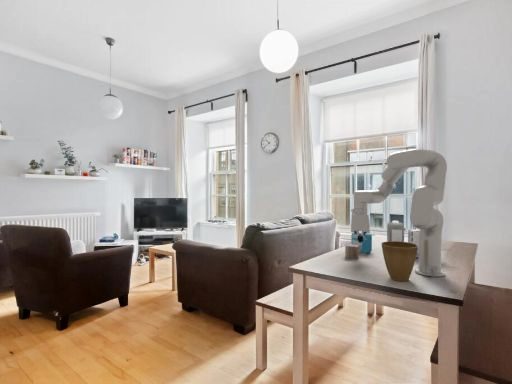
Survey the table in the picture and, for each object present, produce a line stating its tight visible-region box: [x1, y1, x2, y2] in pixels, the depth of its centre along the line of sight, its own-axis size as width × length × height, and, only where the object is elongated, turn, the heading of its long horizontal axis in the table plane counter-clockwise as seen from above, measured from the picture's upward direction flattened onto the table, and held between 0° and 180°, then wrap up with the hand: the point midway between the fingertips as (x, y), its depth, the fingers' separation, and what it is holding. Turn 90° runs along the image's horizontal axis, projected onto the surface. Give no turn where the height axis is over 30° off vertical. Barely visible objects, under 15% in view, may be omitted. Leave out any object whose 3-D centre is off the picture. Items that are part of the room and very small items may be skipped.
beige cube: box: [344, 243, 360, 260], centre depth 178 cm, size 7×7×7 cm
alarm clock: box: [386, 220, 405, 242], centre depth 192 cm, size 18×8×20 cm, turn 161°
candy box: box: [407, 229, 420, 260], centre depth 176 cm, size 14×6×16 cm, turn 84°
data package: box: [350, 232, 373, 254], centre depth 193 cm, size 12×4×12 cm, turn 40°
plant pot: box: [381, 241, 418, 282], centre depth 135 cm, size 15×15×16 cm
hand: (360, 242), depth 176 cm, fingers closed
